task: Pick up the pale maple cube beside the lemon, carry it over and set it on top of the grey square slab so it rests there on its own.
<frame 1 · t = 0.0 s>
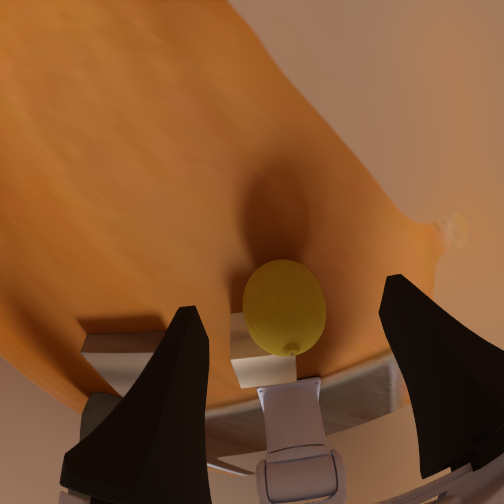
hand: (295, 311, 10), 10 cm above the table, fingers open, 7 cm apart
bottle: (113, 402, 37), on the table
lemon: (276, 266, 22), on the table
maple cube: (262, 327, 26), on the table
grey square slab: (143, 357, 29), on the table
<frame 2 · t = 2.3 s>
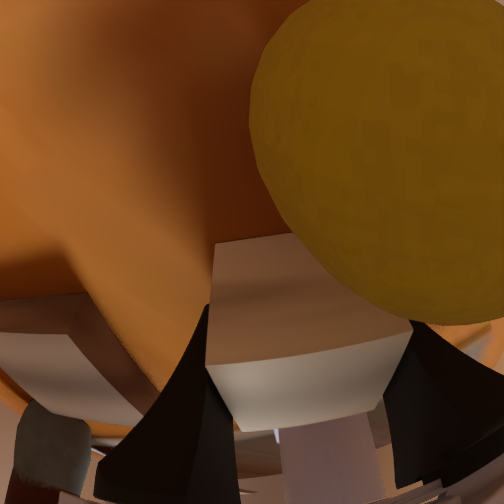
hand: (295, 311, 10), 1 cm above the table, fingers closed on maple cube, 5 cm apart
bottle: (60, 415, 22), on the table
lemon: (334, 102, 8), on the table
maple cube: (289, 285, 11), on the table, touching gripper
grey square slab: (69, 349, 15), on the table
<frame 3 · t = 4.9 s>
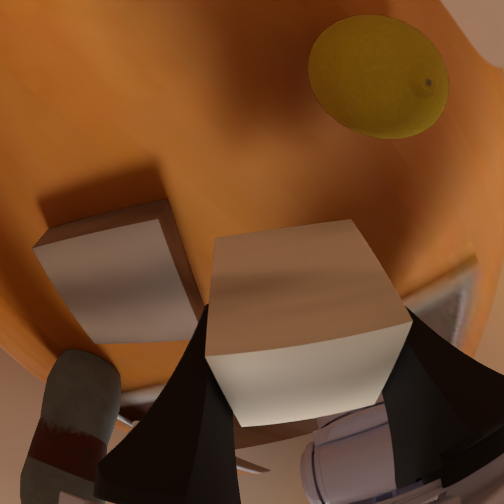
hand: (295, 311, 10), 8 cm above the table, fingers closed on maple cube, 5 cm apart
bottle: (90, 367, 28), on the table
lemon: (341, 73, 13), on the table
maple cube: (289, 280, 12), point 7 cm above the table, touching gripper
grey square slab: (127, 269, 20), on the table
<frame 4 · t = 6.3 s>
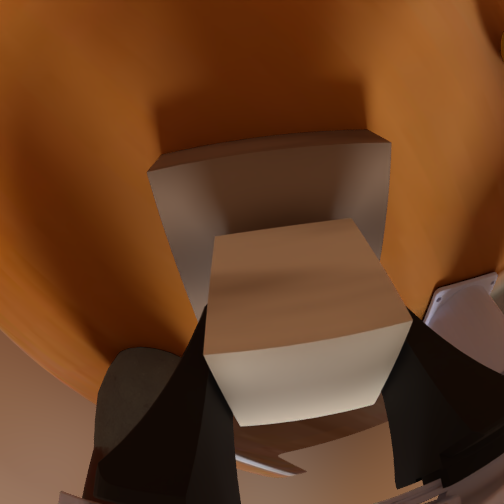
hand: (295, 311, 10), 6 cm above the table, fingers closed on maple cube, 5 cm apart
bottle: (156, 370, 23), on the table
lemon: (500, 54, 8), on the table
maple cube: (288, 279, 12), point 4 cm above the table, touching gripper
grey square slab: (275, 224, 16), on the table
when the fingers open (5 cm above the table, at t = 7.3 s): maple cube drops 1 cm, resting on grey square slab.
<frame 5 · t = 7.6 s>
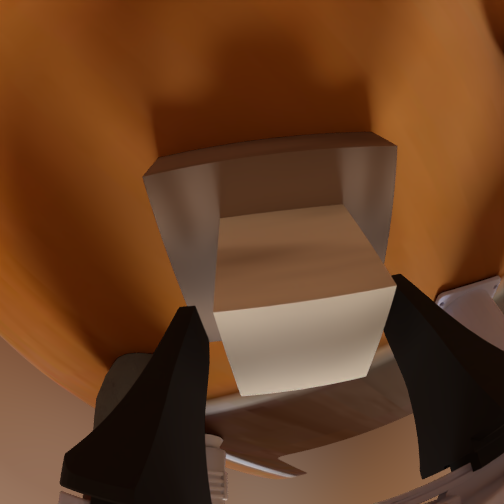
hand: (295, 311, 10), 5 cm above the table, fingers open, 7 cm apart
bottle: (154, 375, 23), on the table
stack of cups: (202, 438, 34), on the table
maple cube: (286, 260, 13), point 2 cm above the table, touching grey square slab
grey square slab: (276, 228, 15), on the table, touching maple cube
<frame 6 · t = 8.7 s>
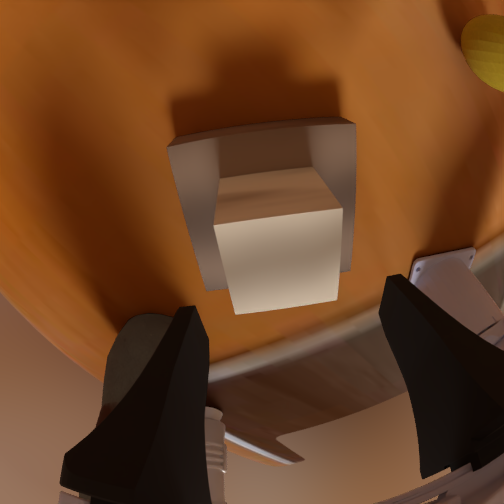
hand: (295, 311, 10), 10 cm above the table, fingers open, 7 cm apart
bottle: (161, 338, 26), on the table
lemon: (464, 49, 12), on the table
stack of cups: (203, 412, 37), on the table
maple cube: (271, 212, 16), point 2 cm above the table, touching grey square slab
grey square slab: (267, 195, 19), on the table, touching maple cube
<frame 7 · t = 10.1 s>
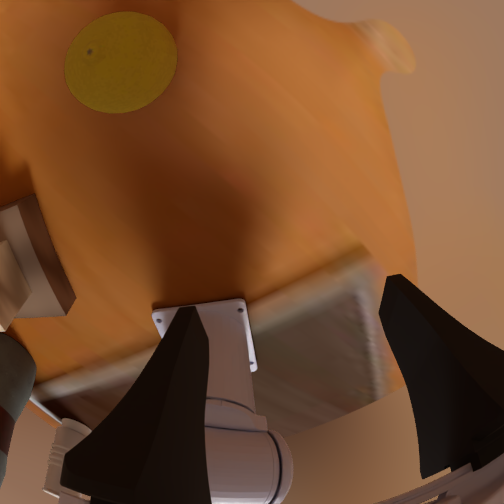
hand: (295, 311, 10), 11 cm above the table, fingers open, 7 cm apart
bottle: (14, 353, 25), on the table
lemon: (144, 71, 14), on the table
stack of cups: (77, 425, 35), on the table
maple cube: (3, 271, 17), point 2 cm above the table, touching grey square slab
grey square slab: (21, 254, 20), on the table, touching maple cube
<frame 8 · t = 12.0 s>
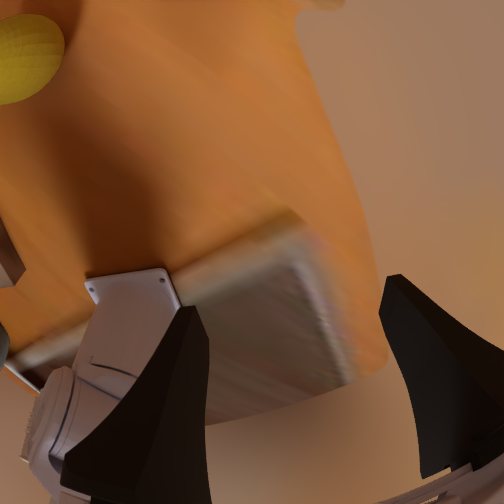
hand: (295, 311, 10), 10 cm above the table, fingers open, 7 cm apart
lemon: (54, 56, 12), on the table
stack of cups: (54, 396, 37), on the table
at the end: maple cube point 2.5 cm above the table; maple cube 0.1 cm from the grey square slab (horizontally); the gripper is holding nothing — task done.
